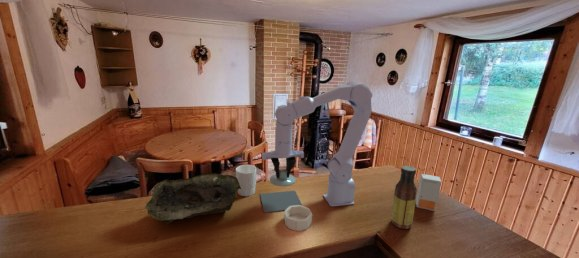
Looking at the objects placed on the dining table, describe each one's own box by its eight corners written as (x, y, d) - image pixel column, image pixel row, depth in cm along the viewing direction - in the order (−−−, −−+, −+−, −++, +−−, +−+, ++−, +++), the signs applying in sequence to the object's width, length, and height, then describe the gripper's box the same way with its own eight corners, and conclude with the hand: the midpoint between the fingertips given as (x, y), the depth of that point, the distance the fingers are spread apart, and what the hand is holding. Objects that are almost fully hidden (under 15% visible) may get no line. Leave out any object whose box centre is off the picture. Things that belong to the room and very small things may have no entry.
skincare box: (416, 207, 87) (422, 178, 84) (415, 201, 91) (420, 173, 88) (435, 211, 85) (442, 181, 82) (433, 205, 89) (439, 176, 86)
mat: (294, 191, 95) (294, 190, 95) (303, 208, 84) (303, 207, 84) (260, 194, 92) (260, 193, 92) (264, 212, 81) (264, 211, 81)
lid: (291, 173, 90) (291, 164, 89) (298, 184, 81) (299, 174, 81) (267, 176, 88) (267, 166, 87) (272, 187, 79) (272, 177, 78)
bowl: (306, 213, 82) (306, 204, 81) (314, 229, 74) (315, 219, 73) (282, 216, 80) (282, 206, 79) (288, 232, 72) (288, 222, 71)
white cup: (258, 187, 97) (258, 165, 95) (253, 198, 90) (253, 174, 87) (239, 186, 98) (239, 163, 95) (233, 196, 90) (232, 172, 88)
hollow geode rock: (240, 220, 84) (239, 178, 91) (242, 213, 74) (241, 167, 80) (153, 228, 77) (159, 183, 84) (140, 223, 67) (148, 171, 73)
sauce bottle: (410, 220, 80) (420, 166, 74) (412, 232, 74) (424, 174, 69) (389, 216, 82) (397, 162, 76) (390, 227, 76) (399, 170, 71)
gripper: (300, 136, 87) (298, 170, 90) (260, 137, 83) (260, 173, 87) (306, 142, 80) (304, 179, 84) (263, 144, 76) (263, 182, 80)
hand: (282, 176), depth 85 cm, fingers closed on lid, 3 cm apart
